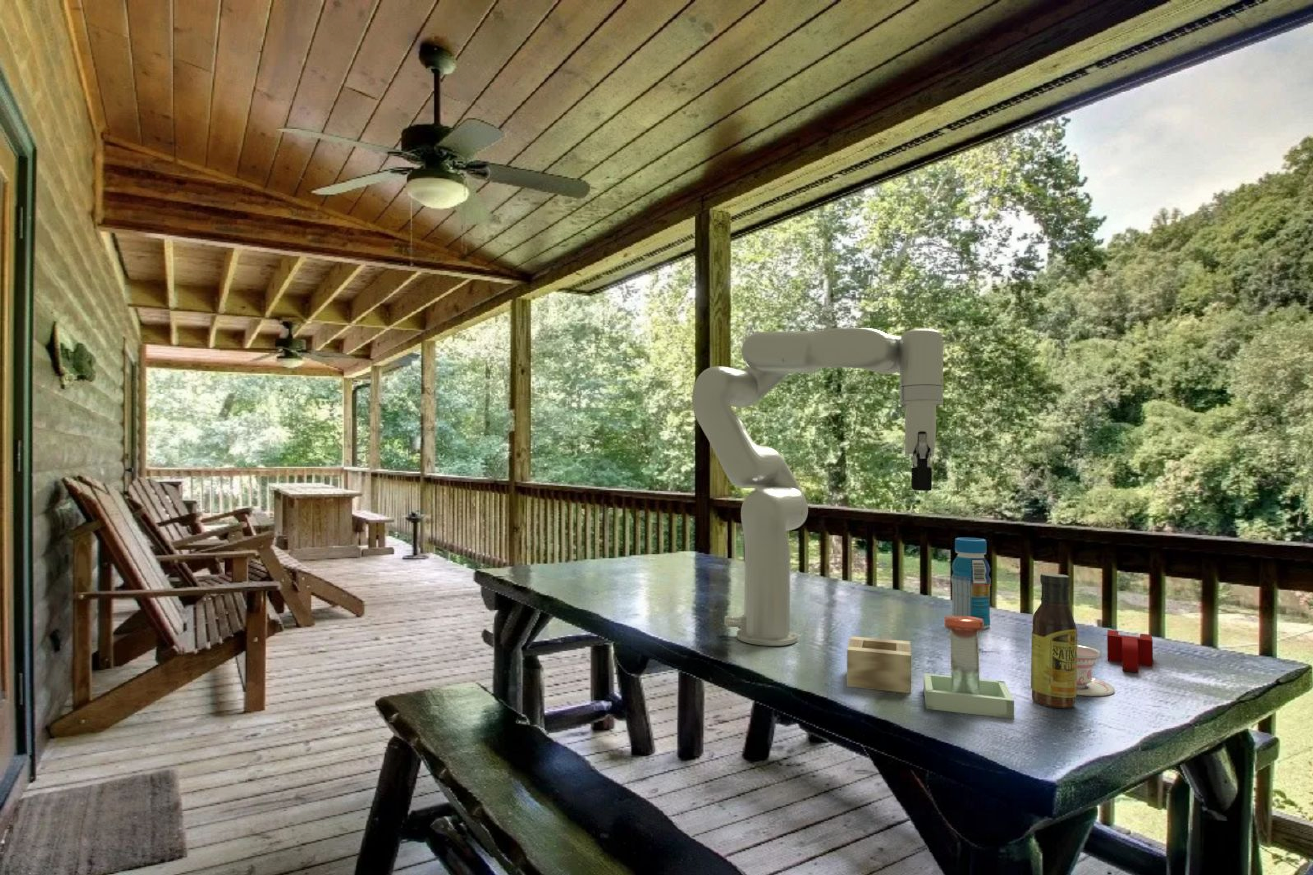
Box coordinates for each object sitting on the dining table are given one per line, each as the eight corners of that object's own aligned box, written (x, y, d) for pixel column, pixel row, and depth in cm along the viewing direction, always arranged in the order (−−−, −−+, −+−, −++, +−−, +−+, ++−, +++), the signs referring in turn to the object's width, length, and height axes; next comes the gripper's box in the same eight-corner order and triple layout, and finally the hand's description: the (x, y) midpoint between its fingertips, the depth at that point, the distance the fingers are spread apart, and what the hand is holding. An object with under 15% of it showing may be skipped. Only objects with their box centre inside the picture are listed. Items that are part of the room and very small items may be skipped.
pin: (947, 702, 109) (945, 621, 109) (944, 692, 114) (943, 614, 115) (988, 706, 107) (985, 623, 108) (983, 695, 112) (981, 616, 113)
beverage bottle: (947, 626, 164) (947, 539, 165) (955, 620, 171) (955, 536, 172) (987, 631, 160) (986, 541, 160) (994, 625, 166) (993, 538, 167)
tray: (926, 708, 108) (926, 691, 108) (923, 689, 117) (923, 673, 117) (1014, 718, 104) (1014, 700, 104) (1004, 698, 113) (1004, 681, 113)
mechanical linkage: (1108, 652, 143) (1107, 627, 144) (1151, 658, 140) (1150, 632, 140) (1106, 671, 130) (1106, 643, 130) (1154, 678, 126) (1154, 649, 126)
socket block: (847, 686, 118) (847, 649, 118) (850, 670, 128) (850, 636, 128) (911, 693, 115) (911, 655, 115) (910, 676, 124) (910, 641, 125)
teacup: (1090, 702, 112) (1089, 662, 113) (1017, 682, 123) (1017, 645, 123) (1129, 690, 119) (1128, 653, 119) (1057, 672, 129) (1057, 637, 129)
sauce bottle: (1057, 712, 107) (1056, 578, 108) (1021, 699, 113) (1020, 572, 113) (1087, 707, 110) (1086, 576, 110) (1050, 694, 115) (1049, 571, 116)
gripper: (899, 401, 142) (899, 488, 141) (900, 392, 125) (899, 490, 125) (940, 401, 139) (940, 488, 139) (946, 392, 123) (946, 491, 122)
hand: (921, 489), depth 132 cm, fingers open, 9 cm apart
